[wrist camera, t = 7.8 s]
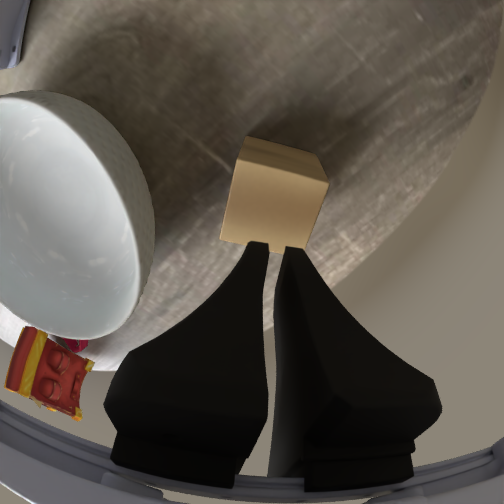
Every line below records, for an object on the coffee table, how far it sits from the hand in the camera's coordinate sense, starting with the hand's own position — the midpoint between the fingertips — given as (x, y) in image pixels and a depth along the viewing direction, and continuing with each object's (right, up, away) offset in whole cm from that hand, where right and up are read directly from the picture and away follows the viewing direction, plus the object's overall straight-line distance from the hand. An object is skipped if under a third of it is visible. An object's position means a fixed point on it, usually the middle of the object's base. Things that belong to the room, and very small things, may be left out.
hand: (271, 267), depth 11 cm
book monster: (-27, -13, +18) cm, 36 cm away
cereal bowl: (-14, +5, +9) cm, 17 cm away
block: (+1, +5, +8) cm, 9 cm away
